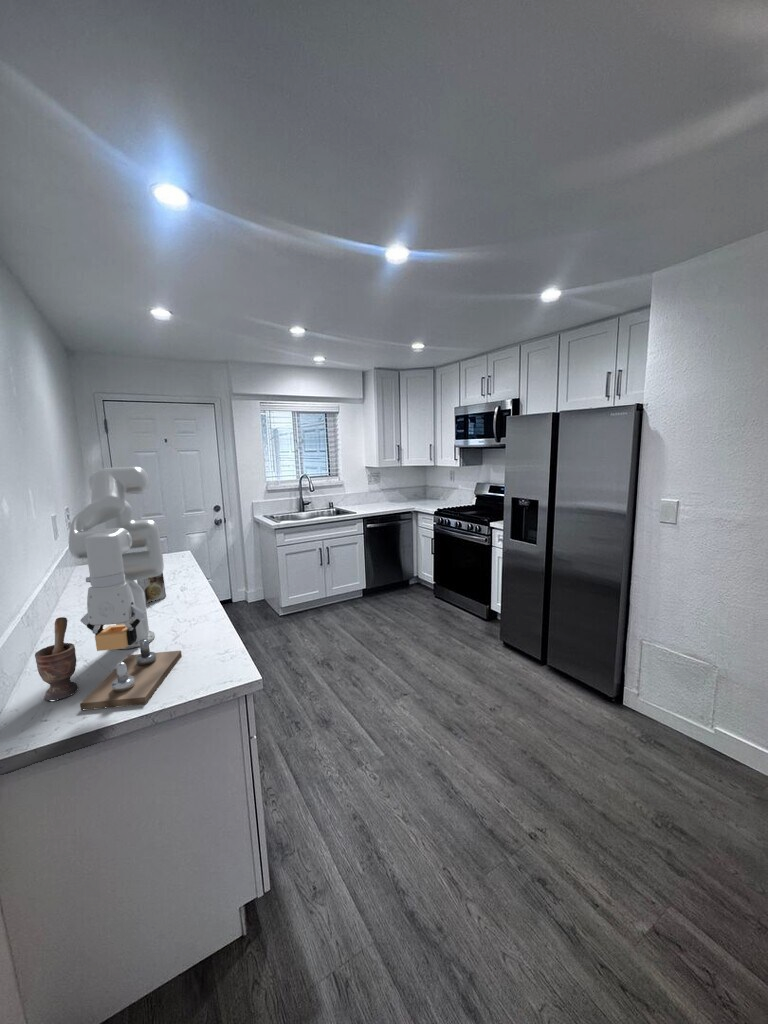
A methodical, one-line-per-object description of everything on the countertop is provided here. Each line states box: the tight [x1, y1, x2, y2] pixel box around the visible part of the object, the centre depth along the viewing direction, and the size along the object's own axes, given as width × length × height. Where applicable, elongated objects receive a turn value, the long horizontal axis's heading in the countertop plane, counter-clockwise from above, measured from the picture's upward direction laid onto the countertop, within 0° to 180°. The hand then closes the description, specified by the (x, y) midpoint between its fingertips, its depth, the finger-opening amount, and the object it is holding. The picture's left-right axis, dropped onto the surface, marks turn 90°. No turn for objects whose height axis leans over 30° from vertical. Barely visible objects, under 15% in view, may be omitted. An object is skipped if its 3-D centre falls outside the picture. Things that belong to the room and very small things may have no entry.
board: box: [79, 650, 183, 711], centre depth 123 cm, size 16×26×2 cm, turn 6°
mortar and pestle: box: [34, 616, 79, 701], centre depth 117 cm, size 12×9×20 cm
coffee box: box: [136, 572, 167, 604], centre depth 191 cm, size 9×6×16 cm
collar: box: [94, 624, 128, 652], centre depth 113 cm, size 7×7×4 cm
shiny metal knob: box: [136, 639, 156, 666], centre depth 129 cm, size 5×5×7 cm
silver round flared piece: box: [112, 661, 135, 693], centre depth 115 cm, size 5×5×7 cm
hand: (117, 643), depth 113 cm, fingers closed on collar, 6 cm apart
